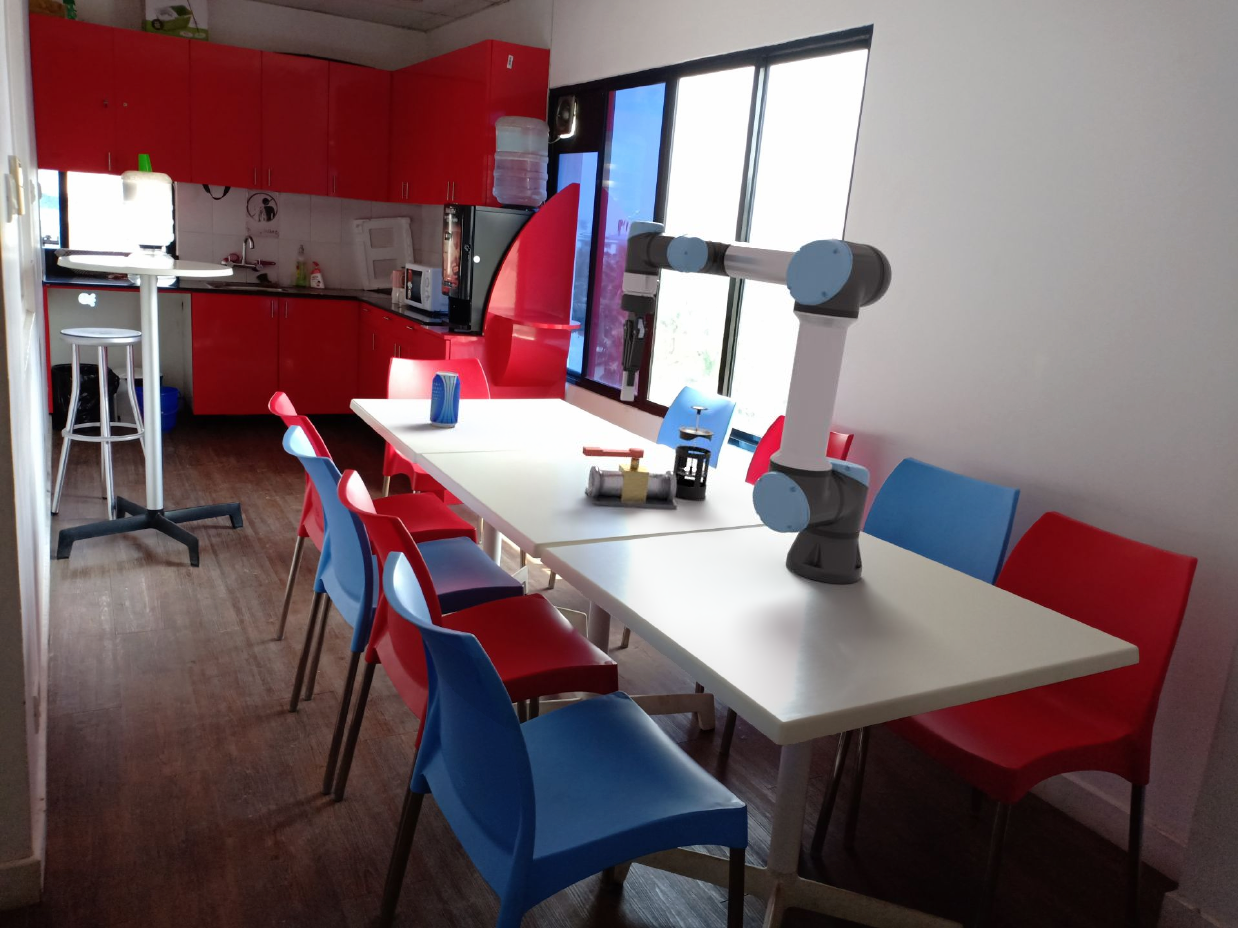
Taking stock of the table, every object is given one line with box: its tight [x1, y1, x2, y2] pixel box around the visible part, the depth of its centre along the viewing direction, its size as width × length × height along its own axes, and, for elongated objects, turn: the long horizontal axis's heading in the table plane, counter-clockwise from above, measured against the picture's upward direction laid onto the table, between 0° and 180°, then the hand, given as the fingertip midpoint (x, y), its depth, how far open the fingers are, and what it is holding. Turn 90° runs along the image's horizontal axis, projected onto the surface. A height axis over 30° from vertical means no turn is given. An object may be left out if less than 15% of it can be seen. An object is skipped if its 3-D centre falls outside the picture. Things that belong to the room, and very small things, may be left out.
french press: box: [673, 405, 715, 502], centre depth 233 cm, size 12×9×23 cm
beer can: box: [429, 371, 462, 429], centre depth 281 cm, size 8×8×16 cm
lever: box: [582, 446, 645, 459], centre depth 219 cm, size 15×4×2 cm, turn 110°
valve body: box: [584, 457, 678, 511], centre depth 223 cm, size 20×12×10 cm, turn 103°
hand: (626, 400), depth 208 cm, fingers closed
